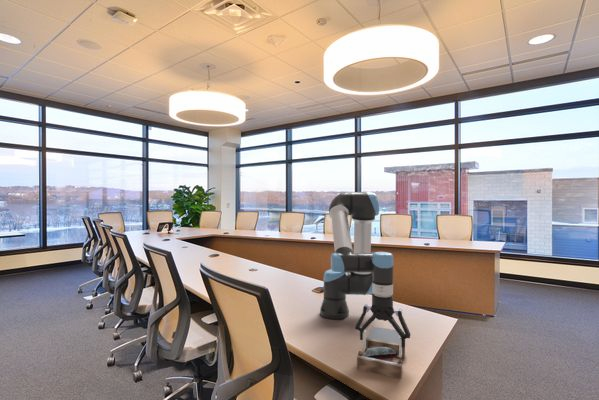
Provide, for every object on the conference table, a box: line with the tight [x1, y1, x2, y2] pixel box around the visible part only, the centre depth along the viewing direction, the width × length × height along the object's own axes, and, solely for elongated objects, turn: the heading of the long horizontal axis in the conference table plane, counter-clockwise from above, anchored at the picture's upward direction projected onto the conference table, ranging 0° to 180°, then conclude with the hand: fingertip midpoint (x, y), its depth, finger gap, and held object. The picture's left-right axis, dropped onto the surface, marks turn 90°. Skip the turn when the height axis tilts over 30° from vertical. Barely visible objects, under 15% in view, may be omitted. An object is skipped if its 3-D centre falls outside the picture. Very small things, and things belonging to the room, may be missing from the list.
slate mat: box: [367, 326, 400, 344], centre depth 137 cm, size 13×16×1 cm
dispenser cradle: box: [356, 336, 406, 379], centre depth 116 cm, size 15×18×5 cm
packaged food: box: [363, 347, 400, 362], centre depth 114 cm, size 9×12×5 cm
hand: (382, 352), depth 116 cm, fingers closed on packaged food, 12 cm apart
